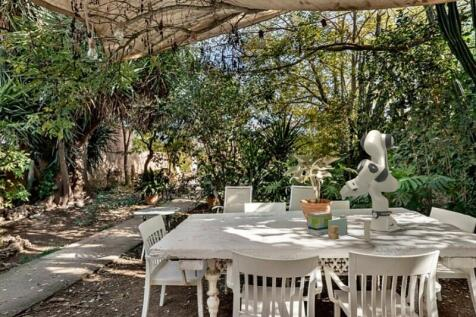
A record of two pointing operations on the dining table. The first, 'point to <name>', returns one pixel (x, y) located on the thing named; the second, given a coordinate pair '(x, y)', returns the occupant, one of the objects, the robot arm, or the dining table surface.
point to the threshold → (355, 236)
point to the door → (339, 225)
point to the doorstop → (333, 232)
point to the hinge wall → (342, 216)
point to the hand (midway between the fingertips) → (348, 198)
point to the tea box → (318, 222)
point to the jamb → (367, 230)
